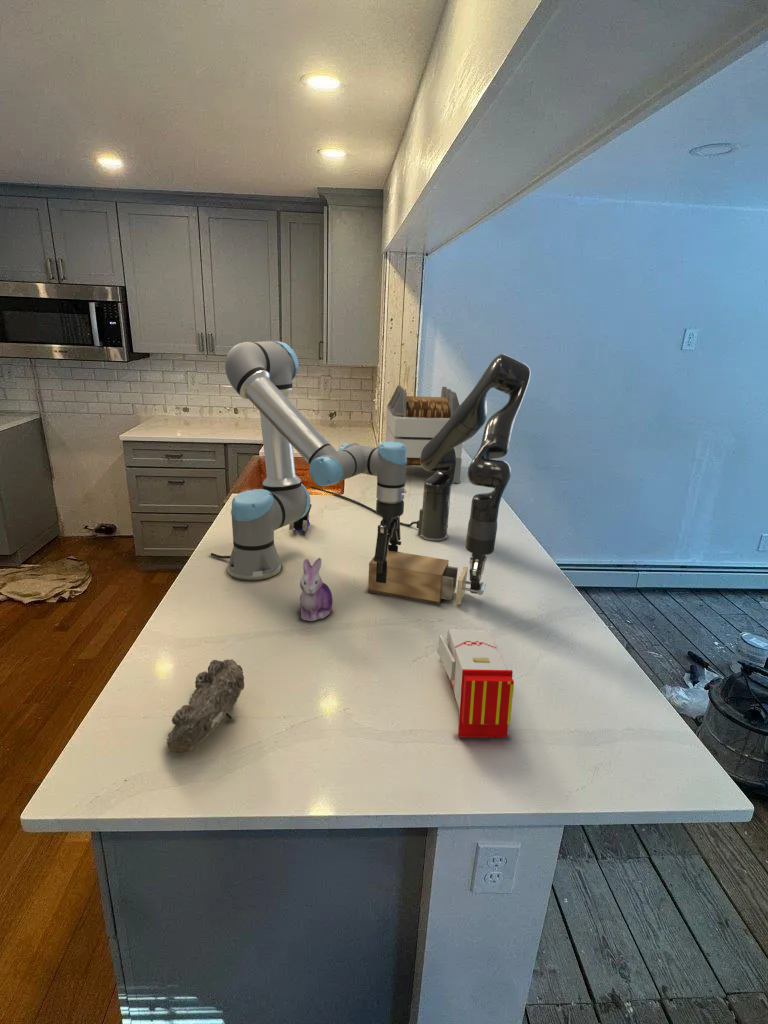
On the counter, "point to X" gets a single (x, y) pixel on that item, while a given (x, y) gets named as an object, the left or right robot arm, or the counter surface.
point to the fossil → (206, 705)
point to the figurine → (314, 593)
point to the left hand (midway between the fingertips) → (386, 573)
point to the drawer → (450, 585)
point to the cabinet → (409, 577)
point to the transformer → (420, 422)
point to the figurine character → (301, 523)
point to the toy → (478, 682)
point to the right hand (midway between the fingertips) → (474, 592)
